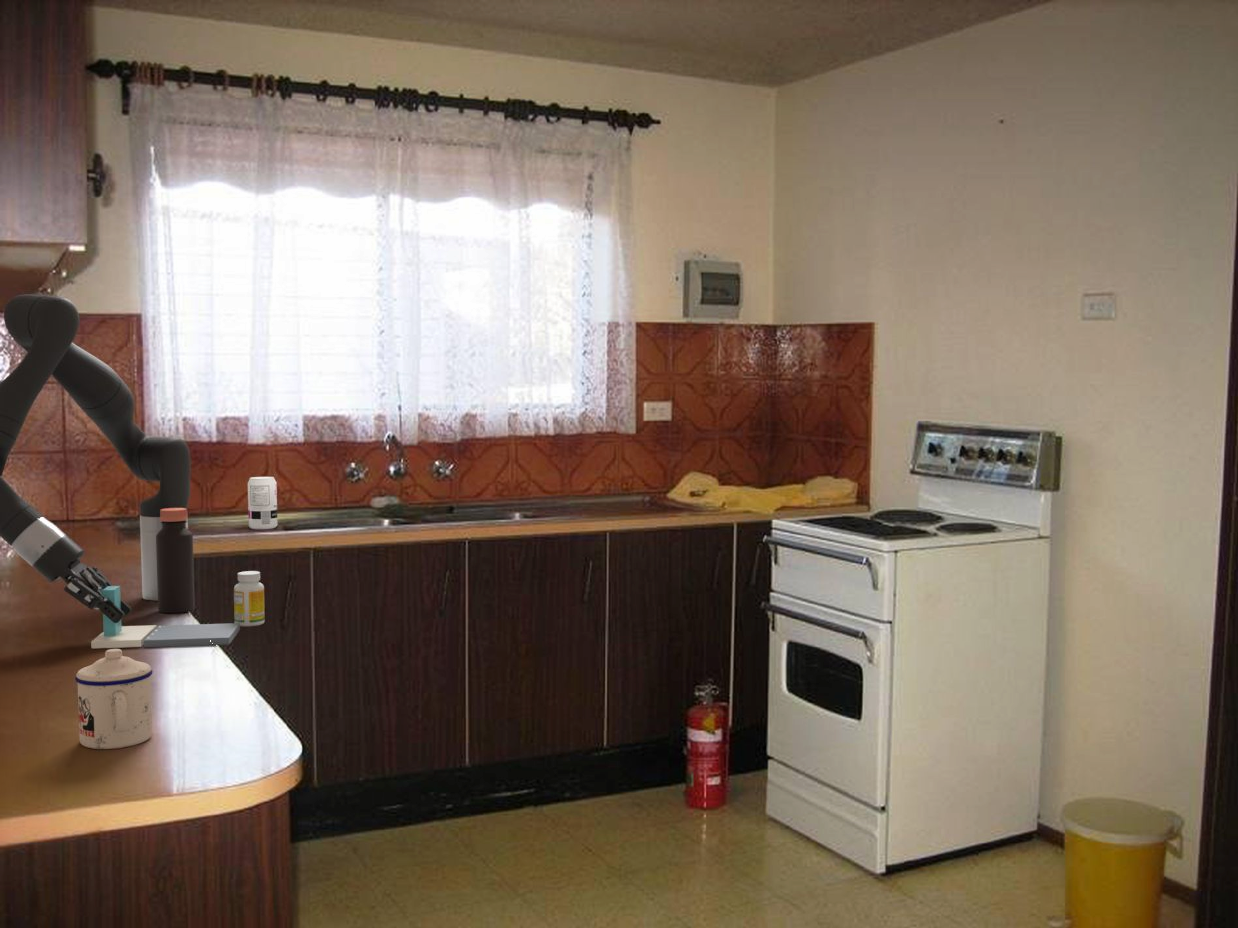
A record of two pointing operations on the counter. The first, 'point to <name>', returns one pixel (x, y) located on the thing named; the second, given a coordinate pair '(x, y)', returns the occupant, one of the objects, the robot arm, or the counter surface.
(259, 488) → the supplement can
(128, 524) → the counter surface
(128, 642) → the teal block on base
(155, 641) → the board
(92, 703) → the teacup with lid
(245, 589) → the supplement bottle
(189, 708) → the counter surface
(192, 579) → the vinegar
